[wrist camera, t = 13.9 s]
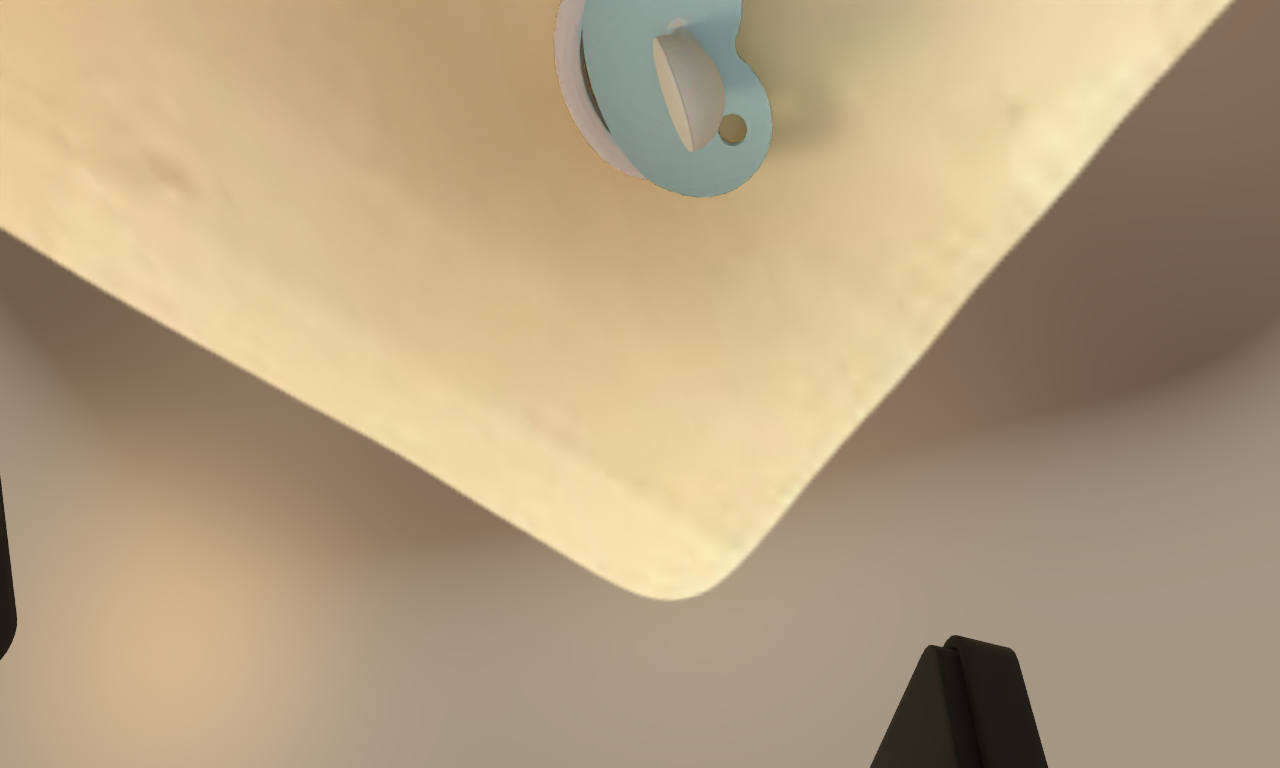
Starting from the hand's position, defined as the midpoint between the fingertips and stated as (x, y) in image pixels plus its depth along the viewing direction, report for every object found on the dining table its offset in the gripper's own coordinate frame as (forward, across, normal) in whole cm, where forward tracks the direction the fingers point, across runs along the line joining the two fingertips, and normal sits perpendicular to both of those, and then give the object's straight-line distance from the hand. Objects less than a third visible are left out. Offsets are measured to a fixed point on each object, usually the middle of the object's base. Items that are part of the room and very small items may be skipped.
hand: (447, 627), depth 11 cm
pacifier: (+24, 0, 0) cm, 25 cm away
